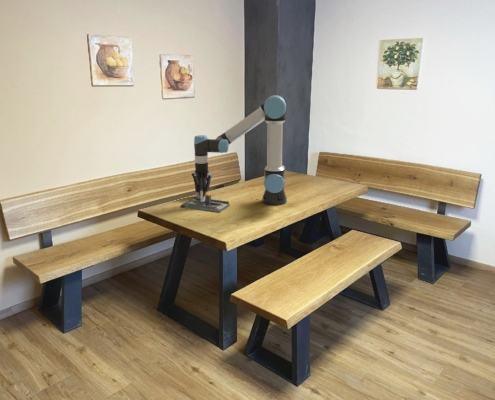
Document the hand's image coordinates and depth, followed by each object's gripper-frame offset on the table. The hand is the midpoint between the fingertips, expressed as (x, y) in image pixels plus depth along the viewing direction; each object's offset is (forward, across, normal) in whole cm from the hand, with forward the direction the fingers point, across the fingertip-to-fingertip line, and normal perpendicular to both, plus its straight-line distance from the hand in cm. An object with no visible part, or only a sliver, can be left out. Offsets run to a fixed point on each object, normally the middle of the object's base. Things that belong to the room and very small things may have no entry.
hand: (202, 201), depth 249 cm
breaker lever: (+2, -4, 0) cm, 4 cm away
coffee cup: (+3, +10, -16) cm, 19 cm away
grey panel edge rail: (+3, +10, 0) cm, 11 cm away
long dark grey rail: (+3, 0, -9) cm, 9 cm away
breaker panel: (+3, -2, 0) cm, 4 cm away
